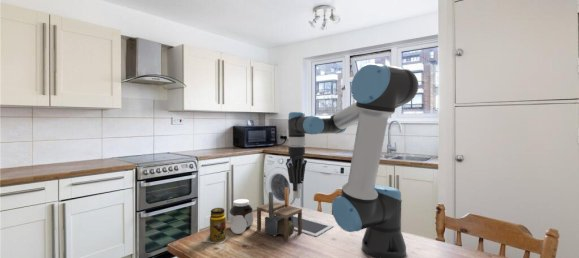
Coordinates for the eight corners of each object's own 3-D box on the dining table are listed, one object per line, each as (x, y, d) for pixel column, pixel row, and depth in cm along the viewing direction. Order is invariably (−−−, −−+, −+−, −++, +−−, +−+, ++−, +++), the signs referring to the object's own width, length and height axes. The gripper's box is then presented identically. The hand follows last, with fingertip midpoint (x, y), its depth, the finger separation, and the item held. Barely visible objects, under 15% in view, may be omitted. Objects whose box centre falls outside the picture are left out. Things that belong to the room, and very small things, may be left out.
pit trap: (333, 226, 120) (333, 225, 120) (316, 236, 110) (316, 235, 110) (288, 214, 137) (288, 213, 137) (269, 221, 126) (269, 221, 126)
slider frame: (292, 227, 117) (292, 188, 117) (275, 236, 109) (275, 193, 108) (282, 224, 121) (282, 186, 121) (264, 232, 113) (264, 191, 112)
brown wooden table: (301, 233, 114) (301, 208, 113) (286, 241, 106) (286, 215, 106) (273, 223, 124) (272, 201, 124) (257, 230, 116) (257, 207, 116)
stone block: (287, 237, 110) (287, 225, 110) (265, 231, 116) (264, 219, 116) (294, 232, 115) (294, 220, 115) (273, 226, 121) (273, 215, 121)
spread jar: (248, 222, 126) (247, 197, 126) (259, 230, 117) (259, 203, 117) (223, 227, 120) (222, 201, 119) (233, 236, 110) (233, 208, 110)
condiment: (222, 243, 104) (222, 212, 104) (201, 242, 105) (201, 211, 105) (229, 235, 111) (229, 206, 111) (210, 234, 112) (209, 205, 112)
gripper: (298, 144, 131) (298, 193, 131) (280, 146, 121) (281, 199, 121) (311, 145, 126) (311, 196, 127) (294, 147, 116) (294, 202, 117)
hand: (296, 197), depth 124 cm, fingers closed
